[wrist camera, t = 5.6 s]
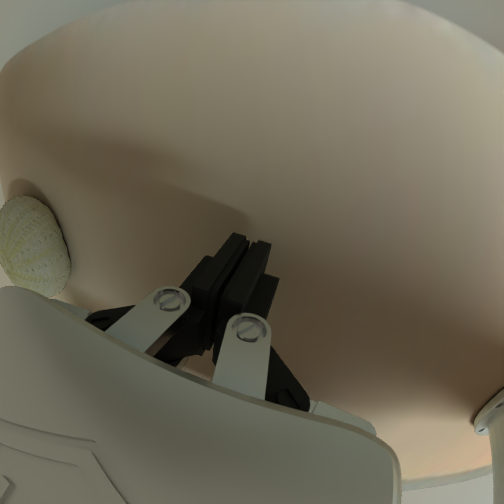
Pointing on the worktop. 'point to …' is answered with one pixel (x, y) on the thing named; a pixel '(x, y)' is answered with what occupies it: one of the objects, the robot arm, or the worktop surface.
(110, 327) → the robot arm
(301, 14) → the worktop surface
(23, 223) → the sea urchin shell
